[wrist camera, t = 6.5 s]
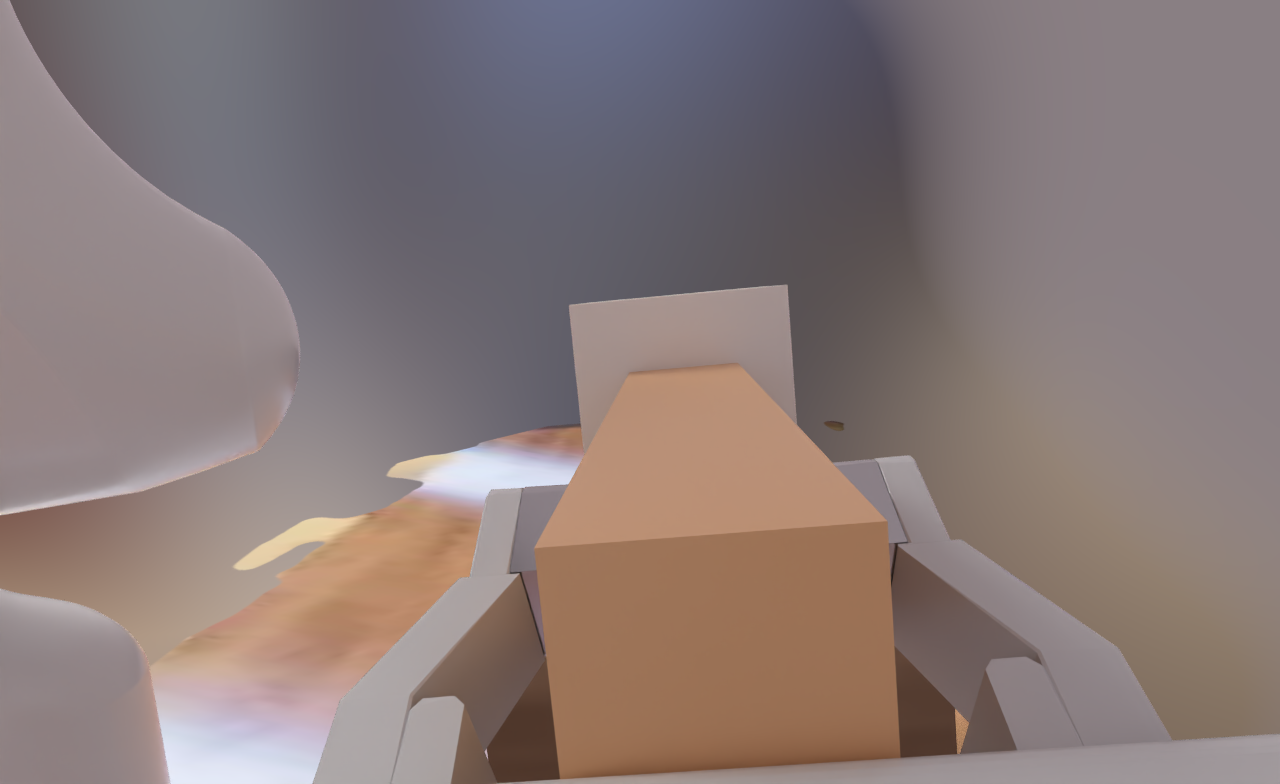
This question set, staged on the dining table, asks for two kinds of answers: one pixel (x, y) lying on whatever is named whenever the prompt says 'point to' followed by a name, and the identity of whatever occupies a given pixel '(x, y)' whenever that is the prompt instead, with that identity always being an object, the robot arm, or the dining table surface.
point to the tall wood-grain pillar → (532, 748)
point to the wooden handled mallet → (709, 555)
